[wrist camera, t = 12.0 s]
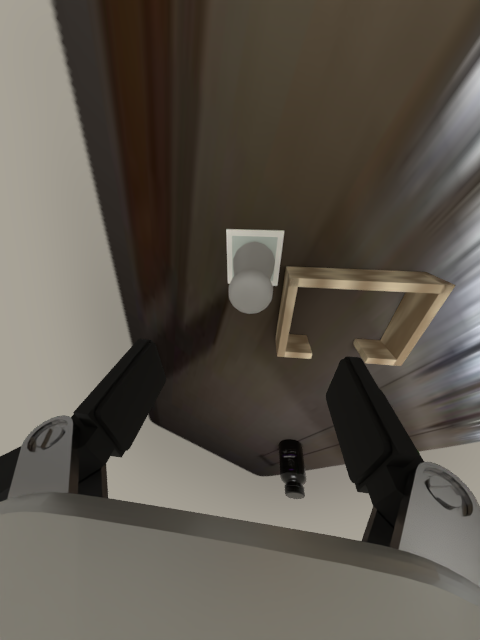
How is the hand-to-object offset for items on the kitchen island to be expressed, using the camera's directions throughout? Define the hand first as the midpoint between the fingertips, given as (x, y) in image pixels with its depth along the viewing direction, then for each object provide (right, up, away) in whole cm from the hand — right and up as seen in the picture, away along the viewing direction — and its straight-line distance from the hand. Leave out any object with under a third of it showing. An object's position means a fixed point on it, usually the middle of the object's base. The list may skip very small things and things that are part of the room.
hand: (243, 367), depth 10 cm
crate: (+17, +4, +22) cm, 28 cm away
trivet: (+2, +12, +19) cm, 22 cm away
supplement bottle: (+15, -36, +48) cm, 62 cm away
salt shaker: (+2, +12, +18) cm, 22 cm away
